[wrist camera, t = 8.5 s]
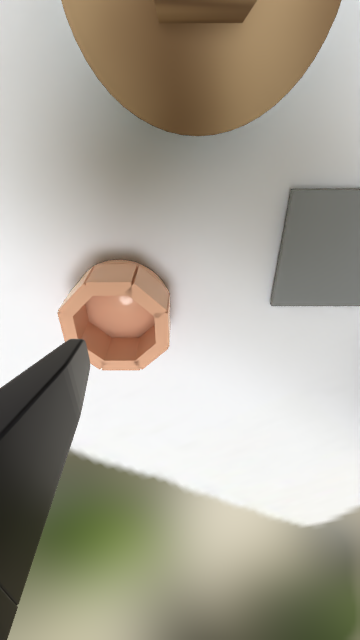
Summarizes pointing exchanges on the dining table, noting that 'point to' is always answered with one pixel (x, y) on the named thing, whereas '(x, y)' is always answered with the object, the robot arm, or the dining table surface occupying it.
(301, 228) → the mat
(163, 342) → the small bowl
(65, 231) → the dining table surface
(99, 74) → the lid
